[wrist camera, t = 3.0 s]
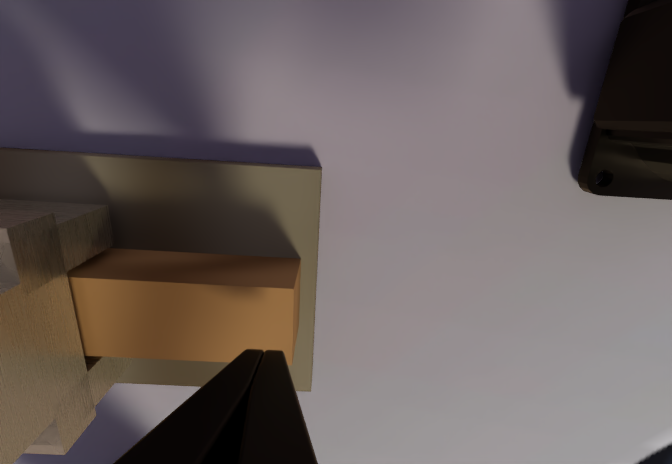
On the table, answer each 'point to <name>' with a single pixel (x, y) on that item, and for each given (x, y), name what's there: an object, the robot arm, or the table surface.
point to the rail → (187, 259)
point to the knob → (47, 327)
